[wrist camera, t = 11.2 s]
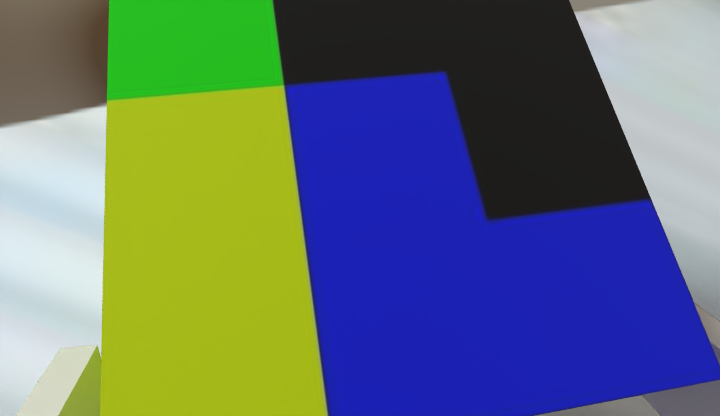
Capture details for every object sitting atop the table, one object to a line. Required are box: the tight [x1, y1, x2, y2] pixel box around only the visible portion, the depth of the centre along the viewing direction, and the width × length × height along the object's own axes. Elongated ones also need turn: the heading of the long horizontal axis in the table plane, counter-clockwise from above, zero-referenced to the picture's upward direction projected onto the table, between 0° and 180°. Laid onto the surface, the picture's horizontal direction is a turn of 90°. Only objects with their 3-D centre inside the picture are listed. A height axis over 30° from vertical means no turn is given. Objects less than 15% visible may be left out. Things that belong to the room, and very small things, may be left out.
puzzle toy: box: [100, 0, 720, 416], centre depth 14 cm, size 10×10×10 cm
